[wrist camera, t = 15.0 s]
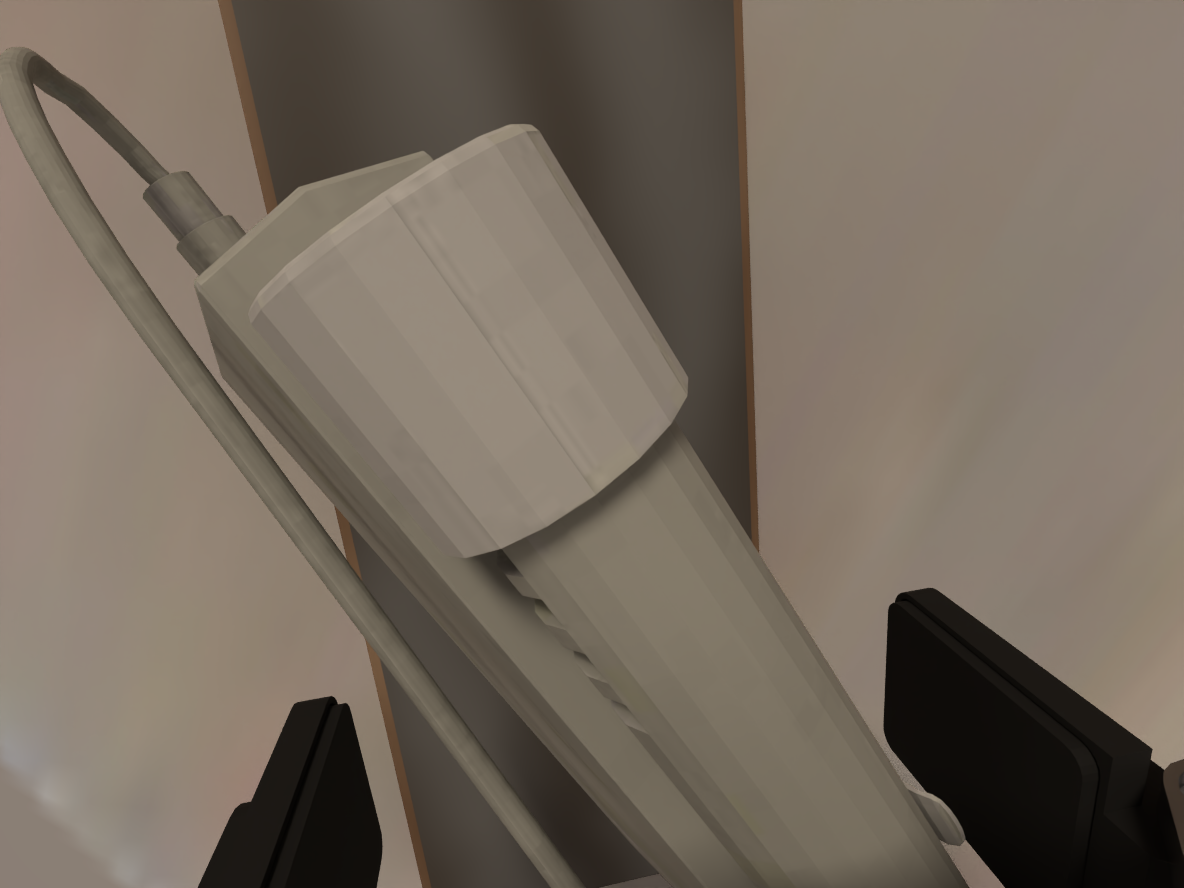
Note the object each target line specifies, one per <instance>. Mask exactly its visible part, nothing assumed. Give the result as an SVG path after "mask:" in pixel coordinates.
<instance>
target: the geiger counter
mask: <svg viewBox="0 0 1184 888" xmlns="http://www.w3.org/2000/svg"><path fill="white" fill-rule="evenodd" d="M33 83H34V84H35V85H36V86H37V87H39V88H40V89H41V90H42V91H44V92H45V93H47V94H48V95H50V96H52V97H54V98H55V99H57V100H59V101H61V102H62V103H64V104H66V105H67V106H68V107H69V108H70V109H72V110H73V111H74V112H75V113H76V114H77V115H78V116H79V117H81V118H82V119H83V120H84V121H85V122H86V123H87V124H88V125H89V126H91V127H92V128H93V129H94V130H95V131H96V132H97V133H98V134H99V135H100V136H101V137H102V138H103V139H104V140H105V141H106V142H107V143H108V144H109V145H111V146H112V147H113V148H114V149H115V150H116V151H117V152H118V153H119V154H120V155H121V156H122V157H123V158H124V159H125V160H126V161H127V162H128V163H129V165H130V166H131V167H132V168H133V169H134V170H135V171H136V172H137V173H138V174H139V175H140V176H141V177H142V178H143V179H144V180H145V181H146V182H147V183H148V184H150V186H149V187H148V188H147V189H146V190H145V192H144V193H143V199H144V200H145V201H146V202H147V204H148V205H149V206H150V207H151V208H152V210H153V211H154V212H155V213H156V214H157V216H158V217H159V218H160V219H161V220H162V222H163V223H164V224H165V225H166V226H167V228H168V229H169V230H170V231H171V232H172V234H173V235H174V236H175V237H176V238H177V240H178V241H179V243H178V245H177V250H178V251H179V253H180V254H181V255H182V256H183V257H184V258H185V260H186V261H187V262H188V263H189V264H190V266H191V267H192V268H193V269H194V270H195V272H196V273H197V274H198V275H199V276H198V277H197V278H196V279H195V280H194V287H195V290H196V293H197V297H198V300H199V303H200V307H201V310H202V313H203V316H204V320H205V323H206V326H207V330H208V333H209V336H210V340H211V343H212V346H213V349H214V353H215V356H216V359H217V363H218V366H219V369H220V373H221V375H222V378H223V379H224V380H225V381H226V382H227V383H228V384H229V385H230V387H231V388H232V389H233V390H234V391H235V392H236V393H237V395H238V396H239V397H240V398H241V399H242V400H243V401H244V403H245V404H246V405H247V406H248V407H249V408H250V409H251V411H252V412H253V413H254V414H255V415H256V416H257V417H258V419H259V420H260V421H261V422H262V423H263V424H264V425H265V427H266V428H267V429H268V430H269V431H270V432H271V433H272V435H273V436H274V437H275V438H276V439H277V440H278V441H279V443H280V444H281V445H282V446H283V447H284V448H285V449H286V451H287V452H288V453H289V454H290V455H291V456H292V457H293V459H294V460H295V461H296V462H297V463H298V464H299V465H300V467H301V468H302V469H303V470H304V471H305V472H306V473H307V475H308V476H309V477H310V478H311V479H312V480H313V481H314V483H315V484H316V485H317V486H318V487H319V488H320V489H321V491H322V492H323V493H324V494H325V495H326V496H327V497H328V499H329V500H330V501H331V502H332V503H333V504H334V505H335V507H336V508H337V509H338V510H339V511H340V512H341V513H342V514H343V516H344V517H345V518H346V519H347V520H348V521H349V522H350V524H351V525H352V526H353V527H354V528H355V529H356V530H357V532H358V533H359V534H360V535H361V536H362V537H363V538H364V540H365V541H366V542H367V543H368V544H369V545H370V546H371V548H372V549H373V550H374V551H375V552H376V553H377V554H378V556H379V557H380V558H381V559H382V560H383V561H384V562H385V564H386V565H387V566H388V567H389V568H390V569H391V570H392V572H393V573H394V574H395V575H396V576H397V577H398V578H399V580H400V581H401V582H402V583H403V584H404V585H405V586H406V588H407V589H408V590H409V591H410V592H411V593H412V594H413V596H414V597H415V598H416V599H417V600H418V601H419V602H420V604H421V605H422V606H423V607H424V608H425V609H426V610H427V612H428V613H429V614H430V615H431V616H432V617H433V618H434V620H435V621H436V622H437V623H438V624H439V625H440V626H441V628H442V629H443V630H444V631H445V632H446V633H447V634H448V636H449V637H450V638H451V639H452V640H453V641H454V642H455V643H456V645H457V646H458V647H459V648H460V649H461V650H462V651H463V653H464V654H465V655H466V656H467V657H468V658H469V659H470V661H471V662H472V663H473V664H474V665H475V666H476V667H477V669H478V670H479V671H480V672H481V673H482V674H483V675H484V677H485V678H486V679H487V680H488V681H489V682H490V683H491V685H492V686H493V687H494V688H495V689H496V690H497V691H498V693H499V694H500V695H501V696H502V697H503V698H504V699H505V701H506V702H507V703H508V704H509V705H510V706H511V707H512V709H513V710H514V711H515V712H516V713H517V714H518V715H519V717H520V718H521V719H522V720H523V721H524V722H525V723H526V725H527V726H528V727H529V728H530V729H531V730H532V731H533V733H534V734H535V735H536V736H537V737H538V738H539V739H540V741H541V742H542V743H543V744H544V745H545V746H546V747H547V749H548V750H549V751H550V752H551V753H552V754H553V755H554V757H555V758H556V759H557V760H558V761H559V762H560V763H561V764H562V766H563V767H564V768H565V769H566V770H567V771H568V772H569V774H570V775H571V776H572V777H573V778H574V779H575V780H576V782H577V783H578V784H579V785H580V786H581V787H582V788H583V790H584V791H585V792H586V793H587V794H588V795H589V796H590V798H591V799H592V800H593V801H594V802H595V803H596V804H597V806H598V807H599V808H600V809H601V810H602V811H603V812H604V814H605V815H606V816H607V817H608V818H609V819H610V820H611V822H612V823H613V824H614V825H615V826H616V827H617V828H618V830H619V831H620V832H621V833H622V834H623V835H624V836H625V838H626V839H627V840H628V841H629V842H630V843H631V844H632V845H633V846H634V847H635V848H636V850H637V851H638V852H639V853H640V854H641V855H642V856H643V857H644V858H645V859H646V860H647V861H648V862H649V863H650V864H651V865H652V866H653V867H654V868H655V869H656V870H657V871H658V872H659V873H660V874H661V875H662V877H663V878H664V879H665V880H666V881H667V882H668V883H669V884H670V885H671V886H672V887H673V888H969V886H968V885H967V883H966V882H965V880H964V878H963V877H962V875H961V874H960V872H959V871H958V869H957V867H956V866H955V864H954V863H953V861H952V859H951V858H950V856H949V855H948V853H947V851H946V850H945V848H944V847H943V845H942V844H941V842H940V840H941V841H943V842H945V843H947V844H950V845H957V846H960V845H961V844H962V843H963V842H964V840H965V839H966V838H965V835H964V831H963V829H962V827H961V825H960V823H959V821H958V820H957V818H956V817H955V815H954V814H953V812H952V811H951V810H950V809H949V807H948V806H947V805H946V804H945V803H944V802H943V801H942V800H940V799H939V798H937V797H936V796H934V795H933V794H930V793H926V792H923V791H920V790H918V789H916V788H914V787H913V786H911V785H909V784H908V783H906V782H905V781H903V780H901V778H900V777H899V775H898V774H897V772H896V770H895V769H894V767H893V766H892V764H891V763H890V761H889V759H888V758H887V756H886V755H885V753H884V751H883V750H882V748H881V747H880V745H879V743H878V742H877V740H876V739H875V737H874V735H873V734H872V732H871V731H870V729H869V728H868V726H867V724H866V723H865V721H864V720H863V718H862V716H861V715H860V713H859V712H858V710H857V708H856V707H855V705H854V704H853V702H852V701H851V699H850V697H849V696H848V694H847V693H846V691H845V689H844V688H843V686H842V685H841V683H840V681H839V680H838V678H837V677H836V675H835V674H834V672H833V670H832V669H831V667H830V666H829V664H828V662H827V661H826V659H825V658H824V656H823V654H822V653H821V651H820V650H819V648H818V647H817V645H816V643H815V642H814V640H813V639H812V637H811V635H810V634H809V632H808V631H807V629H806V627H805V626H804V624H803V623H802V621H801V620H800V618H799V616H798V615H797V613H796V612H795V610H794V608H793V607H792V605H791V604H790V602H789V600H788V599H787V597H786V596H785V594H784V593H783V591H782V589H781V588H780V586H779V585H778V583H777V581H776V580H775V578H774V577H773V575H772V573H771V572H770V570H769V569H768V567H767V566H766V564H765V562H764V561H763V559H762V558H761V556H760V554H759V553H758V551H757V550H756V548H755V546H754V545H753V543H752V542H751V540H750V538H749V537H748V535H747V534H746V532H745V531H744V529H743V527H742V526H741V524H740V523H739V521H738V519H737V518H736V516H735V515H734V513H733V511H732V510H731V508H730V507H729V505H728V504H727V502H726V500H725V499H724V497H723V496H722V494H721V492H720V491H719V489H718V488H717V486H716V484H715V483H714V481H713V480H712V478H711V477H710V475H709V473H708V472H707V470H706V469H705V467H704V465H703V464H702V462H701V461H700V459H699V457H698V456H697V454H696V453H695V451H694V450H693V448H692V446H691V445H690V443H689V442H688V440H687V438H686V437H685V435H684V434H683V432H682V430H681V429H680V427H679V426H678V424H677V423H676V421H675V419H674V418H675V417H676V415H677V413H678V411H679V410H680V408H681V406H682V404H683V403H684V401H685V399H686V398H687V394H688V376H687V375H686V373H685V371H684V370H683V368H682V366H681V365H680V363H679V361H678V360H677V358H676V356H675V355H674V353H673V351H672V350H671V348H670V346H669V345H668V343H667V342H666V340H665V338H664V337H663V335H662V333H661V332H660V330H659V328H658V327H657V325H656V323H655V322H654V320H653V318H652V317H651V315H650V313H649V312H648V310H647V308H646V307H645V305H644V303H643V302H642V300H641V298H640V297H639V295H638V294H637V292H636V290H635V289H634V287H633V285H632V284H631V282H630V280H629V279H628V277H627V275H626V274H625V272H624V270H623V269H622V267H621V265H620V264H619V262H618V260H617V259H616V257H615V255H614V254H613V252H612V250H611V249H610V247H609V246H608V244H607V242H606V241H605V239H604V237H603V236H602V234H601V232H600V231H599V229H598V227H597V226H596V224H595V222H594V221H593V219H592V217H591V216H590V214H589V212H588V211H587V209H586V207H585V206H584V204H583V202H582V201H581V199H580V198H579V196H578V194H577V193H576V191H575V189H574V188H573V186H572V184H571V183H570V181H569V179H568V178H567V176H566V174H565V173H564V171H563V169H562V168H561V166H560V164H559V163H558V161H557V159H556V158H555V156H554V154H553V153H552V151H551V150H550V148H549V146H548V145H547V143H546V141H545V140H544V138H543V136H542V135H541V133H540V131H539V130H538V129H536V128H535V127H534V126H532V125H529V124H509V125H507V126H504V127H502V128H499V129H497V130H494V131H491V132H489V133H486V134H484V135H481V136H479V137H477V138H475V139H473V140H472V141H470V142H468V143H466V144H464V145H462V146H460V147H458V148H456V149H455V150H453V151H451V152H449V153H447V154H445V155H443V156H441V157H440V158H438V159H436V160H433V159H432V158H431V157H430V156H429V155H428V154H427V153H426V152H424V151H420V152H417V153H414V154H410V155H407V156H403V157H400V158H396V159H393V160H389V161H386V162H383V163H379V164H376V165H372V166H369V167H365V168H362V169H359V170H355V171H352V172H348V173H345V174H341V175H338V176H335V177H331V178H328V179H324V180H321V181H317V182H314V183H311V184H307V185H304V186H300V187H298V188H297V189H296V190H295V191H293V192H292V193H291V194H290V195H289V196H288V197H287V198H286V199H285V200H283V201H282V202H281V203H280V204H279V205H278V206H277V207H276V208H274V209H273V210H272V211H271V212H270V213H269V214H268V215H267V216H266V217H264V218H263V219H262V220H261V221H260V222H259V223H258V224H257V225H255V226H254V227H253V228H252V229H251V230H250V231H249V232H248V233H247V234H246V233H245V232H244V230H243V229H242V228H241V227H240V225H239V224H238V223H237V222H236V220H235V219H234V218H233V217H232V216H229V215H226V216H223V215H222V213H221V212H220V211H219V210H218V208H217V207H216V206H215V205H214V203H213V202H212V201H211V200H210V198H209V197H208V196H207V195H206V193H205V192H204V191H203V190H202V188H201V187H200V186H199V185H198V183H197V182H196V181H195V180H194V178H193V177H192V176H191V175H190V173H189V172H186V171H179V172H175V173H171V174H169V173H168V172H167V171H166V170H165V169H164V168H163V167H162V166H161V165H160V164H159V163H158V162H157V161H156V160H155V158H154V157H153V156H152V155H151V154H150V153H149V152H148V151H147V150H146V149H145V147H144V146H143V145H142V144H141V143H140V142H139V141H138V140H137V139H136V138H135V137H134V136H133V135H132V134H131V133H130V132H129V131H128V130H127V129H126V128H125V127H124V126H123V125H122V124H121V123H120V122H119V121H118V120H117V119H116V118H115V117H114V116H113V115H112V114H111V113H110V112H109V111H108V110H107V109H106V108H105V107H104V106H103V105H102V104H101V103H100V102H98V101H97V100H96V99H95V98H94V97H93V96H92V95H91V94H90V93H89V92H88V91H87V90H86V89H85V88H84V87H82V86H80V85H79V84H77V83H76V82H74V81H72V80H71V79H69V78H68V77H66V76H65V75H63V74H61V73H60V72H59V71H58V70H56V69H55V68H54V67H53V66H52V65H51V64H50V63H49V62H47V61H46V60H45V59H44V58H42V57H41V56H40V55H38V54H37V53H35V52H34V51H32V50H30V49H28V48H25V47H14V48H9V49H6V50H5V51H4V52H3V53H2V54H1V55H0V103H1V106H2V108H3V111H4V114H5V116H6V119H7V122H8V124H9V126H10V128H11V130H12V132H13V134H14V136H15V138H16V140H17V142H18V144H19V146H20V148H21V150H22V152H23V154H24V156H25V158H26V160H27V162H28V164H29V165H30V167H31V169H32V171H33V173H34V174H35V176H36V178H37V180H38V181H39V183H40V185H41V187H42V189H43V190H44V192H45V194H46V196H47V197H48V199H49V201H50V203H51V205H52V206H53V208H54V210H55V211H56V213H57V214H58V216H59V217H60V219H61V221H62V222H63V224H64V225H65V227H66V228H67V230H68V231H69V233H70V235H71V236H72V238H73V239H74V241H75V242H76V244H77V246H78V247H79V249H80V250H81V252H82V253H83V255H84V256H85V258H86V260H87V261H88V263H89V264H90V266H91V267H92V269H93V270H94V271H95V273H96V274H97V276H98V277H99V279H100V280H101V281H102V283H103V284H104V286H105V287H106V289H107V290H108V291H109V293H110V294H111V296H112V297H113V299H114V300H115V301H116V303H117V304H118V306H119V307H120V308H121V310H122V311H123V313H124V314H125V316H126V317H127V318H128V320H129V321H130V323H131V324H132V326H133V327H134V328H135V330H136V331H137V333H138V334H139V336H140V337H141V338H142V340H143V341H144V342H145V344H146V345H147V346H148V348H149V349H150V350H151V352H152V353H153V354H154V356H155V357H156V358H157V360H158V361H159V362H160V364H161V365H162V366H163V368H164V369H165V371H166V372H167V373H168V375H169V376H170V377H171V379H172V380H173V381H174V383H175V384H176V385H177V387H178V388H179V389H180V391H181V392H182V393H183V395H184V396H185V397H186V399H187V400H188V401H189V403H190V404H191V405H192V407H193V408H194V409H195V411H196V412H197V413H198V415H199V416H200V417H201V419H202V420H203V422H204V423H205V424H206V426H207V427H208V428H209V430H210V431H211V432H212V434H213V435H214V436H215V438H216V439H217V440H218V442H219V443H220V444H221V446H222V447H223V448H224V450H225V451H226V452H227V454H228V455H229V456H230V458H231V459H232V460H233V462H234V463H235V464H236V466H237V467H238V468H239V470H240V471H241V473H242V474H243V475H244V477H245V478H246V479H247V481H248V482H249V483H250V485H251V486H252V487H253V489H254V490H255V491H256V493H257V494H258V495H259V497H260V498H261V499H262V501H263V502H264V503H265V505H266V506H267V507H268V509H269V510H270V511H271V513H272V514H273V515H274V517H275V518H276V519H277V521H278V522H279V524H280V525H281V526H282V528H283V529H284V530H285V532H286V533H287V534H288V536H289V537H290V538H291V540H292V541H293V542H294V544H295V545H296V546H297V548H298V549H299V550H300V552H301V553H302V554H303V556H304V557H305V558H306V560H307V561H308V562H309V564H310V565H311V566H312V568H313V569H314V570H315V572H316V573H317V575H318V576H319V577H320V579H321V580H322V581H323V583H324V584H325V585H326V587H327V588H328V589H329V591H330V592H331V593H332V595H333V596H334V597H335V599H336V600H337V601H338V603H339V604H340V605H341V607H342V608H343V609H344V611H345V612H346V613H347V615H348V616H349V617H350V619H351V620H352V621H353V623H354V624H355V625H356V627H357V628H358V630H359V631H360V632H361V634H362V635H363V636H364V638H365V639H366V640H367V642H368V643H369V644H370V646H371V647H372V648H373V650H374V651H375V652H376V654H377V655H378V656H379V658H380V659H381V660H382V662H383V663H384V664H385V666H386V667H387V668H388V670H389V671H390V672H391V674H392V675H393V676H394V678H395V679H396V681H397V682H398V683H399V685H400V686H401V687H402V689H403V690H404V691H405V693H406V694H407V695H408V697H409V698H410V699H411V701H412V702H413V703H414V705H415V706H416V707H417V709H418V710H419V711H420V713H421V714H422V715H423V717H424V718H425V719H426V721H427V722H428V723H429V725H430V726H431V727H432V729H433V730H434V732H435V733H436V734H437V736H438V737H439V738H440V740H441V741H442V742H443V744H444V745H445V746H446V748H447V749H448V750H449V752H450V753H451V754H452V756H453V757H454V758H455V760H456V761H457V762H458V764H459V765H460V766H461V768H462V769H463V770H464V772H465V773H466V774H467V776H468V777H469V778H470V780H471V781H472V783H473V784H474V785H475V787H476V788H477V789H478V791H479V792H480V793H481V795H482V796H483V797H484V799H485V800H486V801H487V803H488V804H489V805H490V807H491V808H492V809H493V811H494V812H495V813H496V815H497V816H498V817H499V819H500V820H501V821H502V823H503V824H504V825H505V827H506V828H507V829H508V831H509V832H510V834H511V835H512V836H513V838H514V839H515V840H516V842H517V843H518V844H519V846H520V847H521V848H522V850H523V851H524V852H525V854H526V855H527V856H528V858H529V859H530V860H531V862H532V863H533V864H534V866H535V867H536V868H537V870H538V871H539V872H540V874H541V875H542V876H543V878H544V879H545V880H546V882H547V883H548V885H549V886H550V887H551V888H586V887H585V886H584V885H583V883H582V882H581V880H580V879H579V878H578V876H577V875H576V874H575V872H574V871H573V870H572V868H571V867H570V865H569V864H568V863H567V861H566V860H565V859H564V857H563V856H562V854H561V853H560V852H559V850H558V849H557V848H556V846H555V845H554V843H553V842H552V841H551V839H550V838H549V837H548V835H547V834H546V832H545V831H544V830H543V828H542V827H541V826H540V824H539V823H538V822H537V820H536V819H535V817H534V816H533V815H532V813H531V812H530V811H529V809H528V808H527V806H526V805H525V804H524V802H523V801H522V800H521V798H520V797H519V795H518V794H517V793H516V791H515V790H514V789H513V787H512V786H511V784H510V783H509V782H508V780H507V779H506V778H505V776H504V775H503V774H502V772H501V771H500V769H499V768H498V767H497V765H496V764H495V763H494V761H493V760H492V758H491V757H490V756H489V754H488V753H487V752H486V750H485V749H484V747H483V746H482V745H481V743H480V742H479V741H478V739H477V738H476V736H475V735H474V734H473V732H472V731H471V730H470V728H469V727H468V725H467V724H466V723H465V721H464V720H463V719H462V717H461V716H460V715H459V713H458V712H457V710H456V709H455V708H454V706H453V705H452V704H451V702H450V701H449V699H448V698H447V697H446V695H445V694H444V693H443V691H442V690H441V688H440V687H439V686H438V684H437V683H436V682H435V680H434V679H433V677H432V676H431V675H430V673H429V672H428V671H427V669H426V668H425V667H424V665H423V664H422V662H421V661H420V660H419V658H418V657H417V656H416V654H415V653H414V651H413V650H412V649H411V647H410V646H409V645H408V643H407V642H406V640H405V639H404V638H403V636H402V635H401V634H400V632H399V631H398V629H397V628H396V627H395V625H394V624H393V623H392V621H391V620H390V619H389V617H388V616H387V614H386V613H385V612H384V610H383V609H382V608H381V606H380V605H379V603H378V602H377V601H376V599H375V598H374V597H373V595H372V594H371V592H370V591H369V590H368V588H367V587H366V586H365V584H364V583H363V581H362V580H361V579H360V577H359V576H358V575H357V573H356V572H355V570H354V569H353V568H352V566H351V565H350V564H349V562H348V561H347V560H346V558H345V557H344V555H343V554H342V553H341V551H340V550H339V549H338V547H337V546H336V544H335V543H334V542H333V540H332V539H331V538H330V536H329V535H328V533H327V532H326V531H325V529H324V528H323V527H322V525H321V524H320V522H319V521H318V520H317V518H316V517H315V516H314V514H313V513H312V512H311V510H310V509H309V507H308V506H307V505H306V503H305V502H304V501H303V499H302V498H301V496H300V495H299V494H298V492H297V491H296V490H295V488H294V487H293V485H292V484H291V483H290V481H289V480H288V479H287V477H286V476H285V474H284V473H283V472H282V470H281V469H280V468H279V466H278V465H277V464H276V462H275V461H274V459H273V458H272V457H271V455H270V454H269V453H268V451H267V450H266V448H265V447H264V446H263V444H262V443H261V442H260V440H259V439H258V437H257V436H256V435H255V433H254V432H253V431H252V429H251V428H250V426H249V425H248V424H247V422H246V421H245V420H244V418H243V417H242V415H241V414H240V413H239V411H238V410H237V409H236V407H235V406H234V405H233V403H232V402H231V400H230V399H229V398H228V396H227V395H226V394H225V392H224V391H223V389H222V388H221V387H220V385H219V384H218V383H217V381H216V380H215V378H214V377H213V376H212V374H211V373H210V372H209V370H208V369H207V367H206V366H205V365H204V363H203V362H202V361H201V359H200V358H199V357H198V355H197V354H196V352H195V351H194V350H193V348H192V347H191V346H190V344H189V343H188V341H187V340H186V339H185V337H184V336H183V335H182V333H181V332H180V330H179V329H178V328H177V326H176V325H175V323H174V322H173V321H172V319H171V318H170V316H169V315H168V313H167V312H166V311H165V309H164V308H163V306H162V305H161V303H160V302H159V300H158V299H157V298H156V296H155V295H154V293H153V292H152V290H151V289H150V287H149V286H148V285H147V283H146V282H145V280H144V279H143V277H142V276H141V274H140V273H139V272H138V270H137V269H136V267H135V266H134V264H133V263H132V262H131V260H130V259H129V257H128V256H127V254H126V253H125V251H124V250H123V248H122V246H121V245H120V243H119V242H118V240H117V239H116V237H115V236H114V234H113V232H112V231H111V229H110V228H109V226H108V225H107V223H106V222H105V220H104V218H103V217H102V215H101V214H100V212H99V211H98V209H97V207H96V206H95V204H94V203H93V201H92V200H91V198H90V196H89V194H88V193H87V191H86V189H85V188H84V186H83V184H82V182H81V181H80V179H79V177H78V175H77V174H76V172H75V170H74V169H73V167H72V165H71V163H70V162H69V160H68V158H67V156H66V155H65V153H64V151H63V149H62V147H61V146H60V144H59V142H58V140H57V138H56V136H55V134H54V132H53V130H52V129H51V127H50V125H49V123H48V121H47V119H46V116H45V114H44V112H43V109H42V107H41V105H40V103H39V100H38V98H37V95H36V92H35V89H34V86H33Z"/></svg>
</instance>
